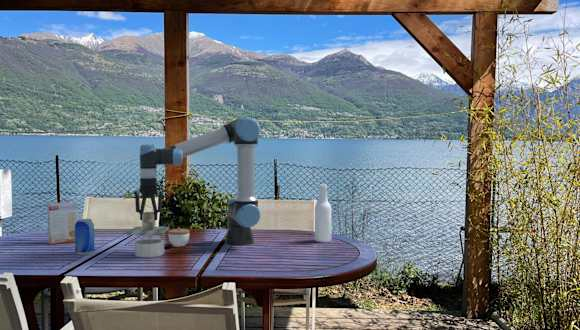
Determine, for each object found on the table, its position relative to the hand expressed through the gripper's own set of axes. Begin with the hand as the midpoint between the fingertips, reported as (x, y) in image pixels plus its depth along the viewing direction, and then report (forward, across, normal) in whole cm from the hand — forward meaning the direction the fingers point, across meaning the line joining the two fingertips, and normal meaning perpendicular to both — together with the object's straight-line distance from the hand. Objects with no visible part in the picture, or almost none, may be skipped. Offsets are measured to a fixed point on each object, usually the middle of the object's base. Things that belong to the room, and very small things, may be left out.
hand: (148, 227), depth 252 cm
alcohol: (+13, -84, -31) cm, 91 cm away
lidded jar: (+13, -10, -20) cm, 26 cm away
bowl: (+13, 0, 0) cm, 13 cm away
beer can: (+13, +31, -2) cm, 34 cm away
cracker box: (+13, +52, -29) cm, 61 cm away
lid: (+2, 0, 0) cm, 2 cm away
